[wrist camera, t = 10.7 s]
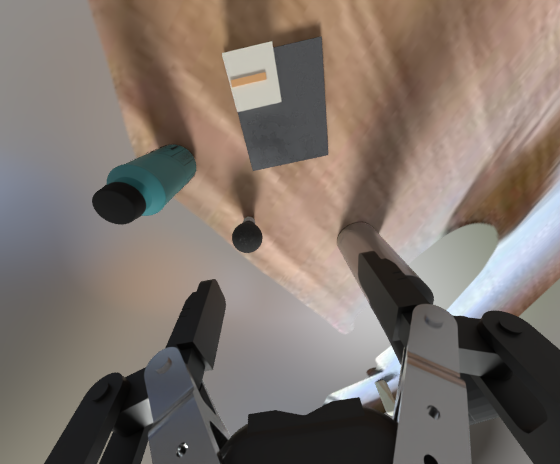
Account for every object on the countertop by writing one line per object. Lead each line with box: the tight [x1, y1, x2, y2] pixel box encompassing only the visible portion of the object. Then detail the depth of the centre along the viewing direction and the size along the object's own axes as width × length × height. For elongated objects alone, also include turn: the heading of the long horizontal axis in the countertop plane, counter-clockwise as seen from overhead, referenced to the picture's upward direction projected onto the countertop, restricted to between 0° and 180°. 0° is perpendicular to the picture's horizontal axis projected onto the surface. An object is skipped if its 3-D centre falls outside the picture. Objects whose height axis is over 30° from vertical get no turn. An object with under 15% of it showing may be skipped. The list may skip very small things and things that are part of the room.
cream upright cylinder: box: [375, 380, 395, 416], centre depth 88 cm, size 5×4×11 cm
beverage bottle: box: [92, 145, 197, 224], centre depth 28 cm, size 6×7×20 cm
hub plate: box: [238, 36, 328, 171], centre depth 31 cm, size 14×16×6 cm
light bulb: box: [232, 217, 262, 253], centre depth 40 cm, size 6×6×10 cm
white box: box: [222, 41, 282, 112], centre depth 28 cm, size 6×6×6 cm
